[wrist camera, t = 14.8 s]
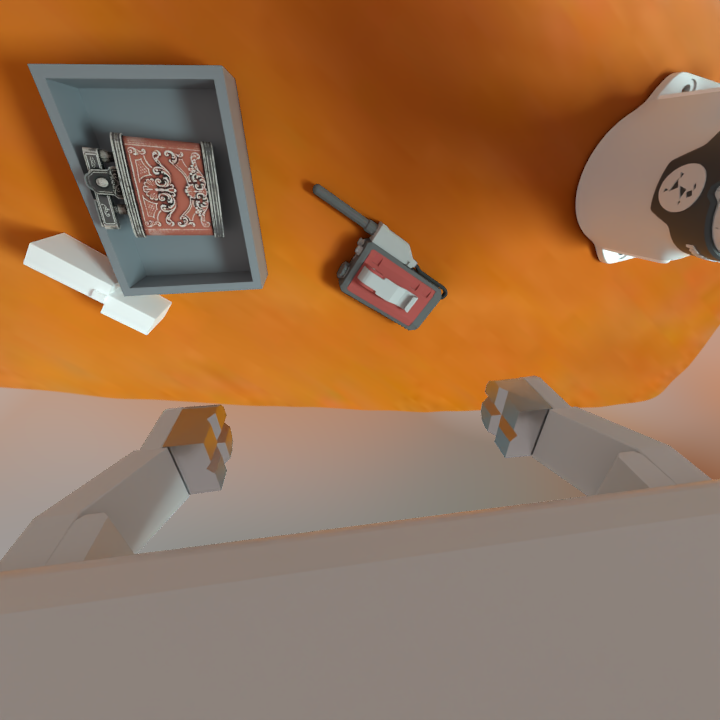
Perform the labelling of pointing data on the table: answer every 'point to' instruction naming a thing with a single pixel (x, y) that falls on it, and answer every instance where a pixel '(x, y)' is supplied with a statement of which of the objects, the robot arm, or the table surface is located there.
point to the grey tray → (166, 122)
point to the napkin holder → (94, 280)
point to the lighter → (156, 186)
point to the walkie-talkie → (385, 272)
